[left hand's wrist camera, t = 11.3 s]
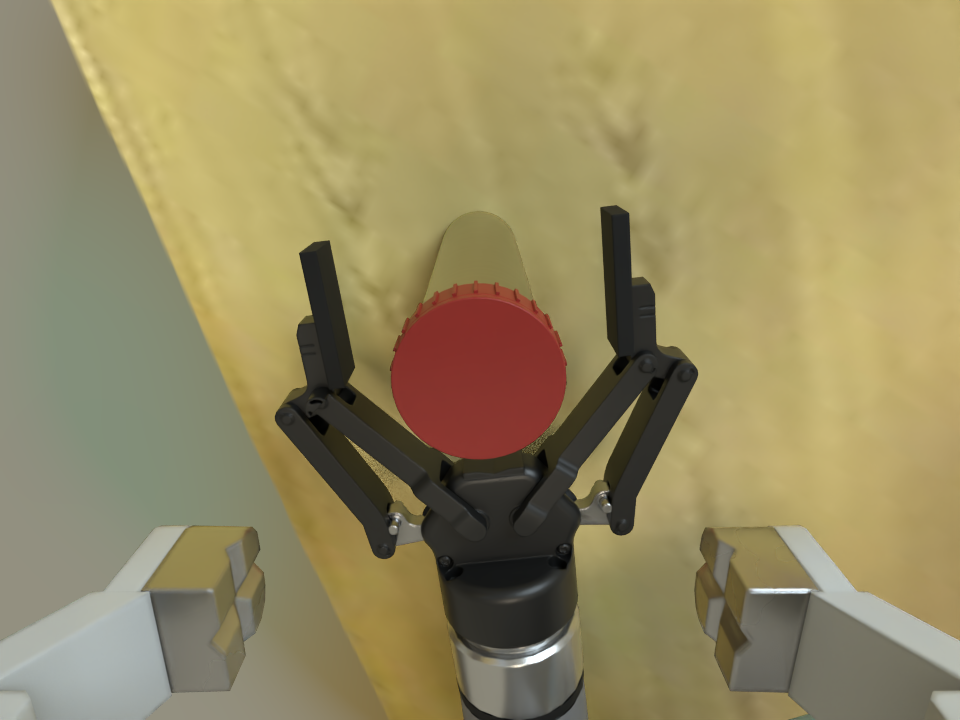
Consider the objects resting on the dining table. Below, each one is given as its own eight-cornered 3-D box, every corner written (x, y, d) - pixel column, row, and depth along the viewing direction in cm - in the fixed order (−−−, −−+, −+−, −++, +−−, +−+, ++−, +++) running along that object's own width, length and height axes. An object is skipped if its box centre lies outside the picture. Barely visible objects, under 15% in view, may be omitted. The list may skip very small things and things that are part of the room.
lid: (580, 299, 19) (589, 315, 17) (539, 449, 20) (544, 476, 19) (411, 263, 18) (405, 276, 17) (383, 419, 20) (375, 445, 18)
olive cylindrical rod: (524, 219, 35) (569, 321, 18) (507, 292, 37) (533, 454, 19) (449, 203, 35) (418, 290, 17) (435, 277, 37) (392, 428, 19)
